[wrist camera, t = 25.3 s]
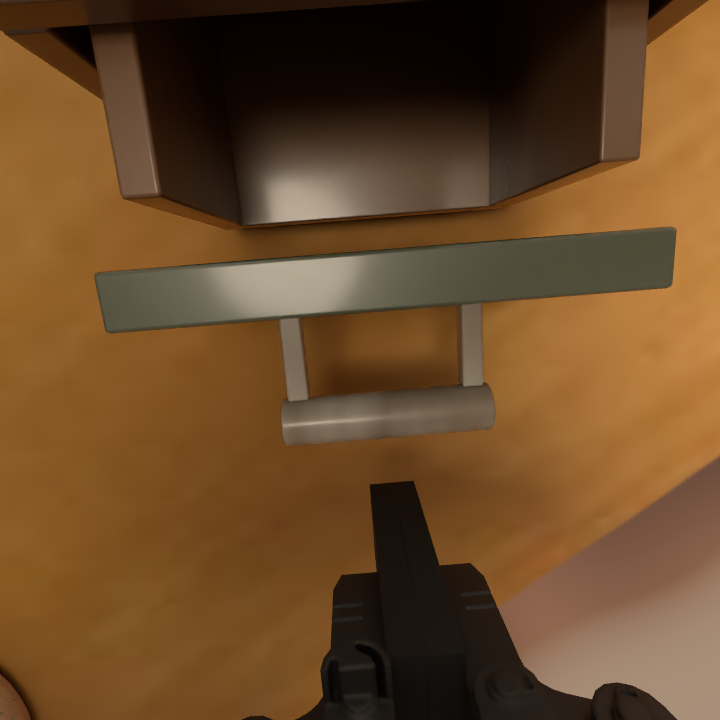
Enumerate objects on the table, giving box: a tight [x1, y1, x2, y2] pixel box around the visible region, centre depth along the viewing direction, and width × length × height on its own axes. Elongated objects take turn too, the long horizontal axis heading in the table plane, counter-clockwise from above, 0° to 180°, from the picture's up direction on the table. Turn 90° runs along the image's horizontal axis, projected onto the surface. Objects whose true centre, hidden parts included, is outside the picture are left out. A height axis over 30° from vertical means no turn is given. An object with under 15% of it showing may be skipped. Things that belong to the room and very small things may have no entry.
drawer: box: [89, 0, 676, 447], centre depth 11 cm, size 18×11×8 cm, turn 4°
